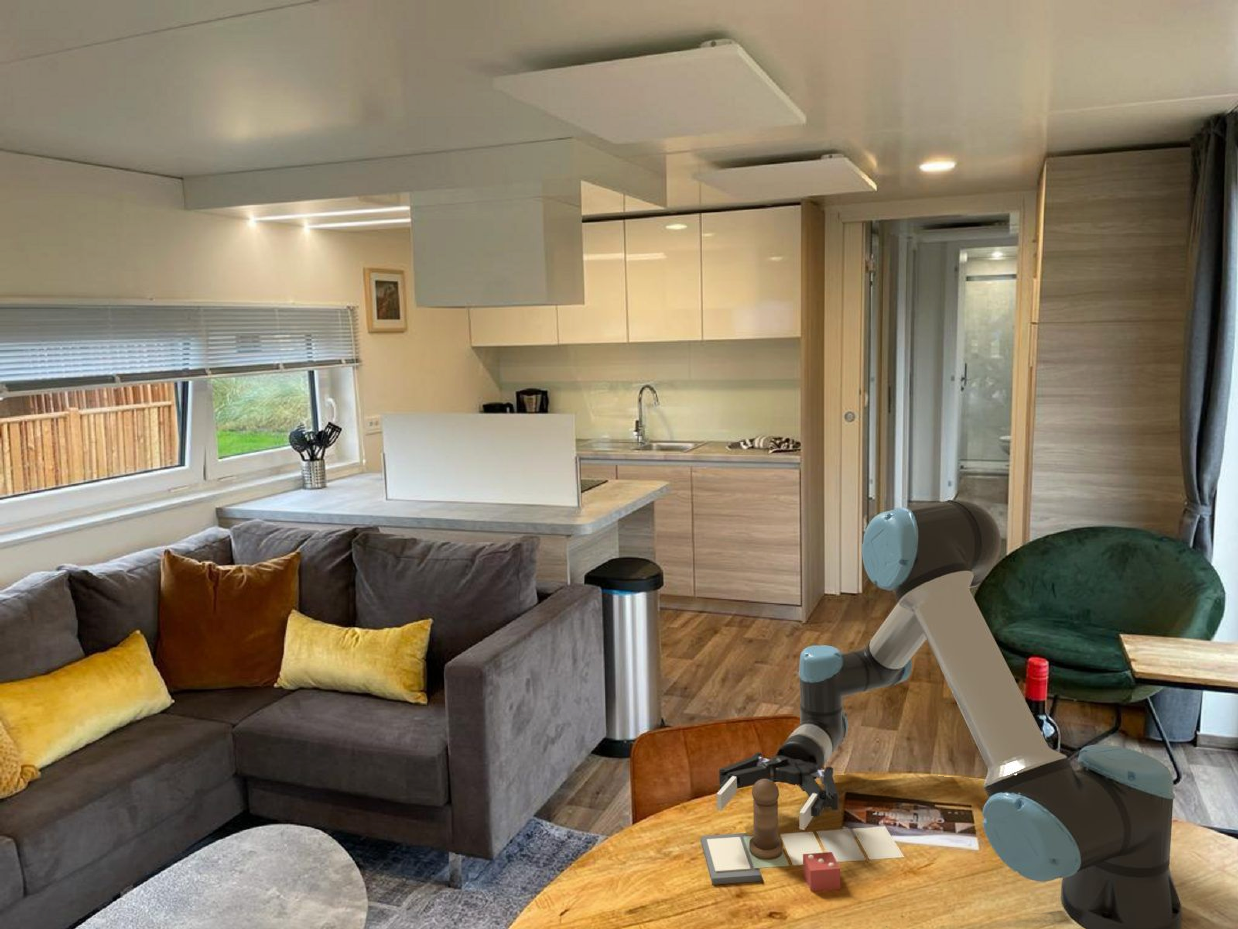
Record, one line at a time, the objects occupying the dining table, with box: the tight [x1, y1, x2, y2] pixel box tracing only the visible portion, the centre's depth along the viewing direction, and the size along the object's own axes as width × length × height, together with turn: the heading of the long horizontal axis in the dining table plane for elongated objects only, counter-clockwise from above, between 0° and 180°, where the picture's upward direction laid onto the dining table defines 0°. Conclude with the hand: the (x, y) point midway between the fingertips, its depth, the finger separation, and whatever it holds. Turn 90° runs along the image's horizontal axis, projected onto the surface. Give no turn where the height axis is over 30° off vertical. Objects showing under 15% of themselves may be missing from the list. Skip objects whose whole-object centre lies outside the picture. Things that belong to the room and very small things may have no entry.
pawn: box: [749, 779, 784, 860], centre depth 151 cm, size 5×5×12 cm
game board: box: [700, 825, 905, 886], centre depth 152 cm, size 12×31×1 cm, turn 93°
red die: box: [802, 851, 841, 892], centre depth 143 cm, size 4×4×5 cm
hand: (759, 811), depth 149 cm, fingers open, 13 cm apart
